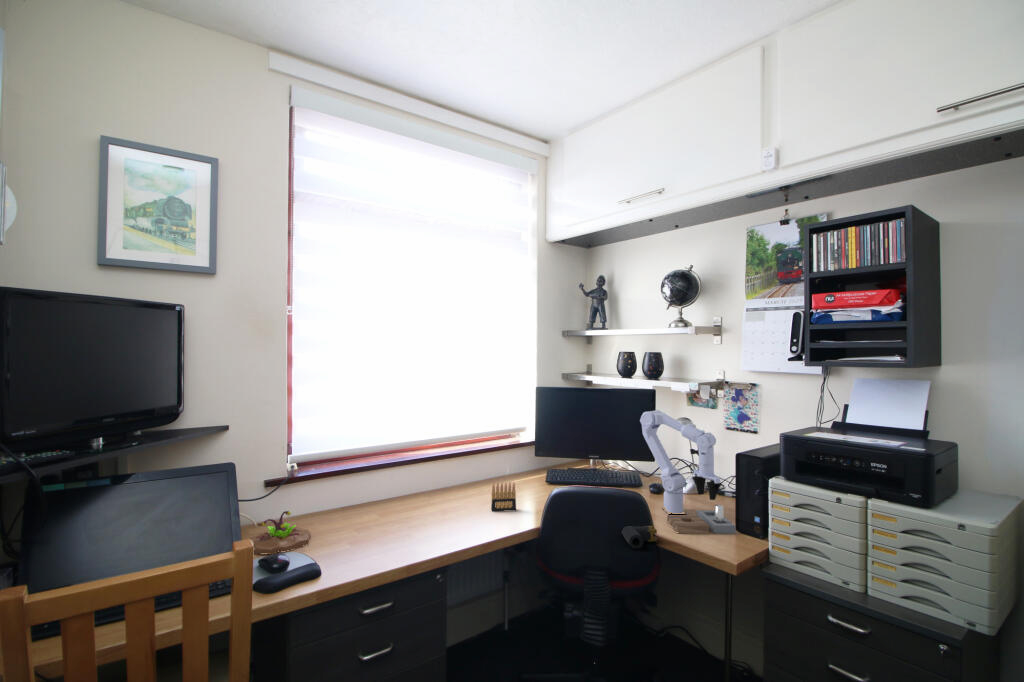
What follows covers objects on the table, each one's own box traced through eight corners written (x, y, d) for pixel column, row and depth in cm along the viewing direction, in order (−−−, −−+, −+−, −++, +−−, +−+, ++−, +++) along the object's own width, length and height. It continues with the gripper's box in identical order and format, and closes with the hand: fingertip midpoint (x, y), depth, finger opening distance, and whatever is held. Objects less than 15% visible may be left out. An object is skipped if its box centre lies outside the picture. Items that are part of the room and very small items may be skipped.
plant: (319, 544, 176) (319, 512, 176) (259, 560, 163) (260, 525, 163) (299, 529, 191) (299, 500, 191) (243, 542, 177) (243, 511, 178)
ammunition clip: (515, 509, 215) (515, 481, 215) (516, 510, 213) (516, 482, 214) (491, 510, 214) (491, 482, 214) (491, 511, 212) (491, 483, 212)
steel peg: (714, 527, 192) (713, 504, 192) (721, 528, 192) (721, 504, 192) (717, 530, 189) (716, 507, 189) (725, 530, 189) (724, 507, 189)
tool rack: (696, 517, 204) (696, 510, 204) (716, 517, 204) (716, 510, 204) (714, 533, 186) (714, 525, 186) (735, 533, 186) (735, 525, 186)
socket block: (667, 522, 198) (667, 515, 198) (697, 522, 198) (697, 515, 198) (677, 533, 186) (676, 525, 186) (708, 533, 186) (708, 525, 186)
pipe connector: (648, 519, 187) (661, 533, 172) (648, 533, 187) (662, 549, 172) (618, 520, 187) (628, 534, 172) (618, 534, 186) (629, 550, 171)
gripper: (687, 460, 207) (687, 492, 207) (709, 467, 193) (709, 502, 193) (701, 459, 209) (702, 491, 209) (724, 466, 195) (725, 501, 195)
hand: (706, 496), depth 201 cm, fingers open, 7 cm apart
